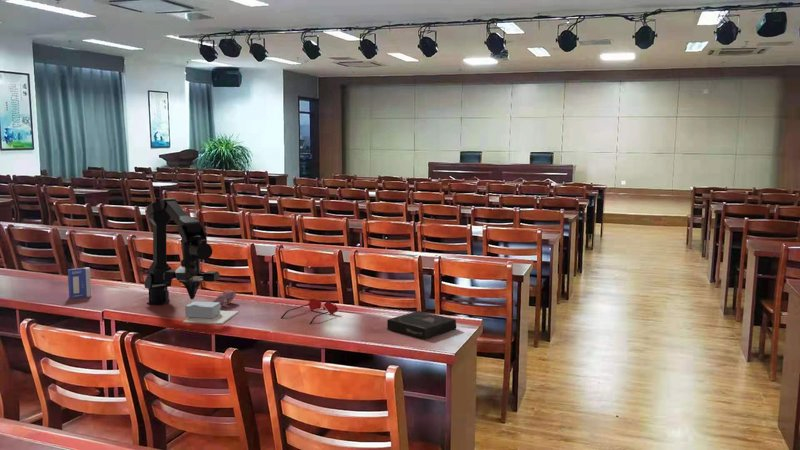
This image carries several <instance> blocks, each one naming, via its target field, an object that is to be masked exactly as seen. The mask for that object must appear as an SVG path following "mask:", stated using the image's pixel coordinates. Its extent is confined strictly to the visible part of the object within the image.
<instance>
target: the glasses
mask: <svg viewBox="0 0 800 450" xmlns="http://www.w3.org/2000/svg"><path fill="white" fill-rule="evenodd" d="M322 302H325V303H324V304H323V306H322ZM307 306H308V307H309V309H310V310H311V311H313V310H314V311H315V310H317V309H318V310H320V309H321V307H323V310H324V311H325V312H322V313H320V314H317V315H315V316H314V317H313V318H312V319H311V321H310V323H309V325H311V324H312V323H313V322H314V320H315V319H316V318H317V317H319V316H321V315H326V314H328V313H329V314H330V315H334V314H335V313H337V312H338V310H339V307H338V306H337V304H335V302H332V301H330V300H328V301H327V300H321V299H315V298H310V299H309V301H308V303H307V304H303V305H301V306H298V307H294V308H291V309H288V310H286V311H285V312H284V313H283V314H282V316H280V319H283V318H285V316H286V314H287V313H289V312H290V311H293V310H297V309H301V308H303V307H307ZM326 310H327V311H326Z"/></svg>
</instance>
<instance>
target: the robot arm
mask: <svg viewBox="0 0 800 450" xmlns="http://www.w3.org/2000/svg"><path fill="white" fill-rule="evenodd" d="M146 212H147V216H148V217H147V218H148V219H149V221H150V223H151V224H152V263H151V265H150V266H149V267H148V272H147V273H148V274H147V276H146V278H145V280H144V282H143V284H144V288H146V289H148V301H147V302H146V304H148V305H165V304H166V303H168V302H170V300H171V299H170V294H169V293H170V292H169V289H168V287H172V283H173V282H172V280H173V279H174V278H176V281H178V282H179V283H180V284H182V285H184V287H185V289H186V291H187V294H188V296H189V299H190V300H194V299H195V297H196V295H197V292H198V290H199V287H200V285H201V283H202V282H209V283H210V282H211V283H212V282H216V281H218V280H219V279H221V278H220V276H221V275H220V272H219V271H218V270H207V271H206V272H202V269H201V262H202V261H206V260H208V259H210V258H211V257H212V254H213V248H212V246H211V245H210V244H208V238H207V233H206V232H205V230H204V227H203V224H202V223H201V222H200V221H199V220H198V219H197V218H195V217H191V216H189V215H188V213H187V212H186V211H185V210H184V209H183V208H182V207H181V205H179V204H178V201H177V199H176V198H174V197H170V198H169V197H168V198H163V199H160V200H158V201H155V202H150V203H149V204H148V206H147V207H146ZM171 219H172V221H174V223H175V224H176V225H177V232H178V234H179V237H181V239H180V240H179V242H180V244H181V245H182V248H181V249H182V259H181V261H180V265H179V267H177V268H176V269H172V267H171V266H170V265H169V263H167V225H168V223H170V220H171Z"/></svg>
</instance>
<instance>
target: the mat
mask: <svg viewBox="0 0 800 450" xmlns="http://www.w3.org/2000/svg"><path fill="white" fill-rule="evenodd" d="M238 313H239V311H238V310H235V311H234V310H220V314H218V315H217V316H215V317H214V318H194V317H187V318H186V319H185V320H183V321H182V323H183V324H201V325H202V324H203V325H204V324H205V325H223V324H224V323H226V322H227V321H229V320H230V319H232V318H234V316H236V315H237V314H238Z"/></svg>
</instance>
